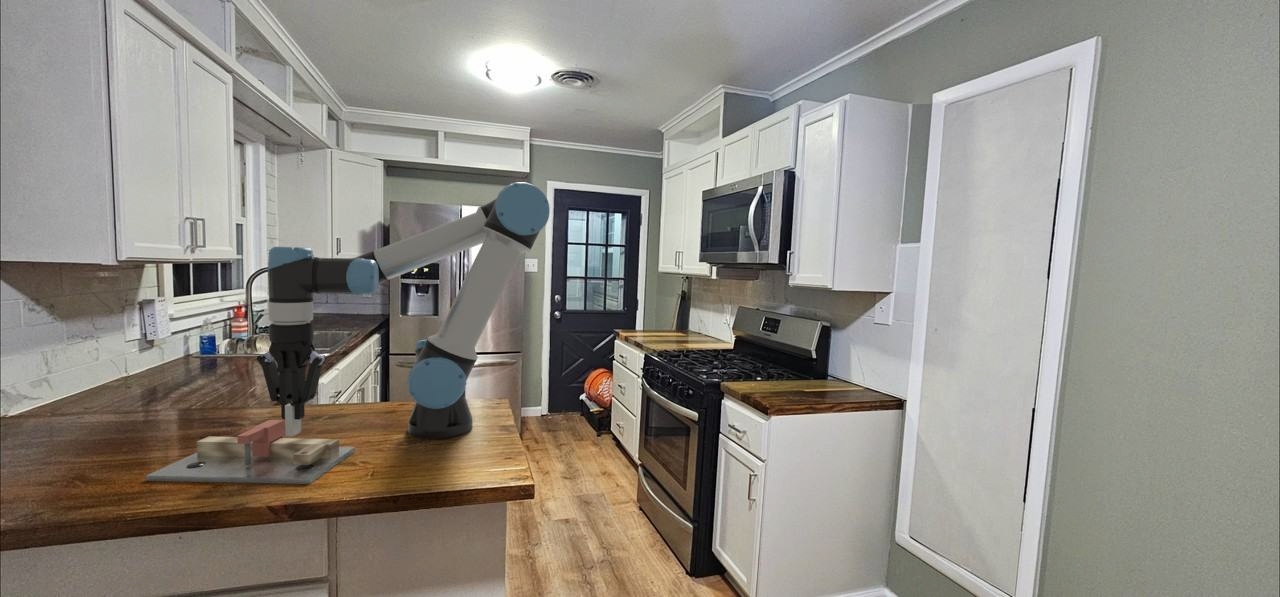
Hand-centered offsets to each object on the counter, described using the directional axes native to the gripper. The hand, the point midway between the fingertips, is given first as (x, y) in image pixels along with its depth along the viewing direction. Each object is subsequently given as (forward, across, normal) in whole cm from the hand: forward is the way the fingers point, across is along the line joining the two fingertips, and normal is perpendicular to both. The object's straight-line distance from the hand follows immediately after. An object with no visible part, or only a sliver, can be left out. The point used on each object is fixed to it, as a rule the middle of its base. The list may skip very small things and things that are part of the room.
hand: (293, 433), depth 105 cm
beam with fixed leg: (+5, +5, +3) cm, 7 cm away
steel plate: (+6, +5, +3) cm, 8 cm away
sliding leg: (+4, +5, +2) cm, 7 cm away
